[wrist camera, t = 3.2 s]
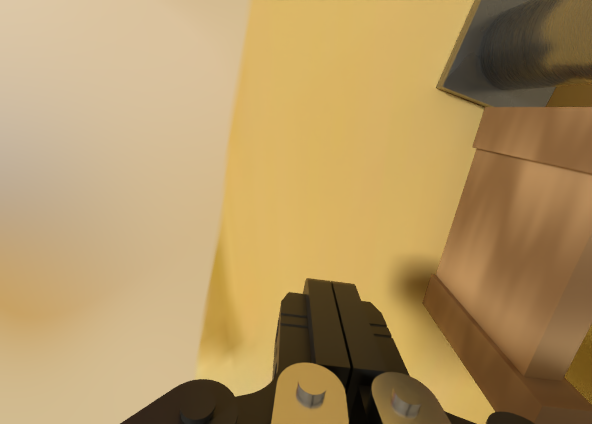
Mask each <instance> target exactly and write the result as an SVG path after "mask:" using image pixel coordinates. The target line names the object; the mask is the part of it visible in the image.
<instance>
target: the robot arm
mask: <svg viewBox="0 0 592 424" xmlns="http://www.w3.org/2000/svg"><path fill="white" fill-rule="evenodd" d="M120 424H476V423H473V422H470V421H468V420H465V419H462V418H460V417H457V416H455V415H452V414H450V413H447V412H445V411H444V410H443V408H442V407H441V405H440V403H439V402H438V400H437V398H436V397H435V396H434V394H433V393H432V392H431V391H430V390H429V389H428V388H427V387H426V386H425V385H423V384H422V383H421V382H419V381H418V380H416V379H414V378H412V377H410V376H409V373H408V371H407V369H406V367H405V365H404V362H403V360H402V358H401V356H400V353H399V351H398V349H397V347H396V345H395V342H394V340H393V338H391V333H390V331H389V329H388V328H387V325H386V322H385V320H384V318H383V316H382V313H381V312H380V311H379V310H378V309H377V308H376V307H375V306H374V305H373V304H372V303H371V302H365V301H361V299H360V297H359V294H358V291H357V289H356V286H355V284H350V283H342V282H334V281H331V282H330V281H325V280H317V279H309V278H307V279H306V281H305V286H304V291H303V294H299V293H291V292H289V293H288V294H287V295H286V296H285V297H284V299H283V300H282V301H281V307H280V313H279V320H278V326H277V333H276V339H275V348H274V363H273V378H272V382H271V383H270V384H269V385H267V386H266V387H265V388H263V389H261V390H259V391H257V392H255V393H251V394H247V395H242V396H237V397H235V396H234V395H233V393H232V392H231V391H230V390H229V388H227V387H226V386H225V385H223V384H221V383H219V382H216V381H213V380H207V379H199V380H192V381H189V382H186V383H183V384H181V385H179V386H177V387H175V388H174V389H172V390H171V391H169V392H168V393H166V394H165V395H163V396H161V397H160V398H158V399H157V400H155V401H154V402H152V403H151V404H149V405H148V406H147V407H145V408H143V409H142V410H140V411H139V412H137V413H136V414H134V415H133V416H131V417H130V418H128V419H127V420H125V421H123V422H122V423H120ZM486 424H535V423H533V422H532V421H530V420H528V419H526V418H524V417H522V416H519V415H517V414H514V413H510V412H502V411H500V412H495V413H492V414H491V415H490V416H489V417H488V419H487V421H486Z"/></svg>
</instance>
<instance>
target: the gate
mask: <svg viewBox="0 0 592 424" xmlns="http://www.w3.org/2000/svg"><path fill="white" fill-rule="evenodd" d="M473 147H474V148H477V149H476V152H475V155H474V158H473V162H472V165H471V168H470V171H469V174H468V177H467V180H466V183H465V186H464V189H463V192H462V195H461V199H460V202H459V205H458V208H457V211H456V214H455V217H454V220H453V223H452V226H451V229H450V232H449V236H448V239H447V242H446V245H445V248H444V251H443V254H442V257H441V260H440V263H439V266H438V269H437V273H436V275H434V274H432V275H431V278H430V281H429V284H428V287H427V291H426V294H425V297H424V300H423V304H424V306H425V307H426V309H427V310H428V312H429V313H430V315H431V316H432V318H433V319H434V321H435V322H436V324H437V325H438V327H439V328H440V330H441V331H442V333H443V334H444V336H445V337H446V339H447V340H448V342H449V343H450V345H451V346H452V348H453V349H454V351H455V352H456V354H457V355H458V357H459V358H460V360H461V361H462V363H463V364H464V366H465V367H466V369H467V370H468V372H469V373H470V375H471V376H472V377H473V379H474V380H475V382H476V383H477V385H478V386H479V388H480V389H481V391H482V392H483V394H484V395H485V397H486V398H487V400H488V401H489V403H490V404H491V406H492V407H493V409H494V410H495V412H500V411H502V412H510V413H514V414H517V415H519V416H522V417H524V418H526V419H528V420H530V421H532V422H533V423H535V424H592V405H591V404H590V403H589V402H588V401H587V400H586V399H585V398H584V397H583V396H582V395H581V394H580V393H579V392H578V391H577V390H576V389H575V388H574V387H573V386H572V385H571V384H570V383H569V382H568V381H567V380H566V379H565V378H564V376H565V374H566V372H567V370H568V368H569V366H570V364H571V362H572V361H573V359H574V357H575V355H576V353H577V351H578V349H579V347H580V345H581V343H582V341H583V340H584V338H585V336H586V334H587V332H588V330H589V328H590V326H591V324H592V107H485V109H484V112H483V115H482V119H481V122H480V125H479V128H478V131H477V134H476V137H475V140H474V144H473Z"/></svg>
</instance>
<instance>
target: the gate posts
mask: <svg viewBox="0 0 592 424" xmlns="http://www.w3.org/2000/svg"><path fill="white" fill-rule="evenodd" d="M584 84H592V0H475V1H474V3H473V5H472V7H471V10H470V12H469V14H468V16H467V19H466V21H465V23H464V26H463V28H462V30H461V32H460V35H459V37H458V39H457V41H456V44H455V46H454V48H453V50H452V53H451V55H450V57H449V60H448V62H447V64H446V66H445V69H444V71H443V73H442V75H441V78H440V80H439V82H438V84H437V87H436V88H438V89H440V90H443V91H445V92H448V93H451V94H453V95H456V96H459V97H461V98H464V99H466V100H469V101H472V102H474V103H477V104H479V105H482V106H485V107H545V106H546V105H547V103H548V101H549V99H550V97H551V96H552V94H553V92H554V90H555V88H556V87H558V86H571V85H584Z"/></svg>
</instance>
